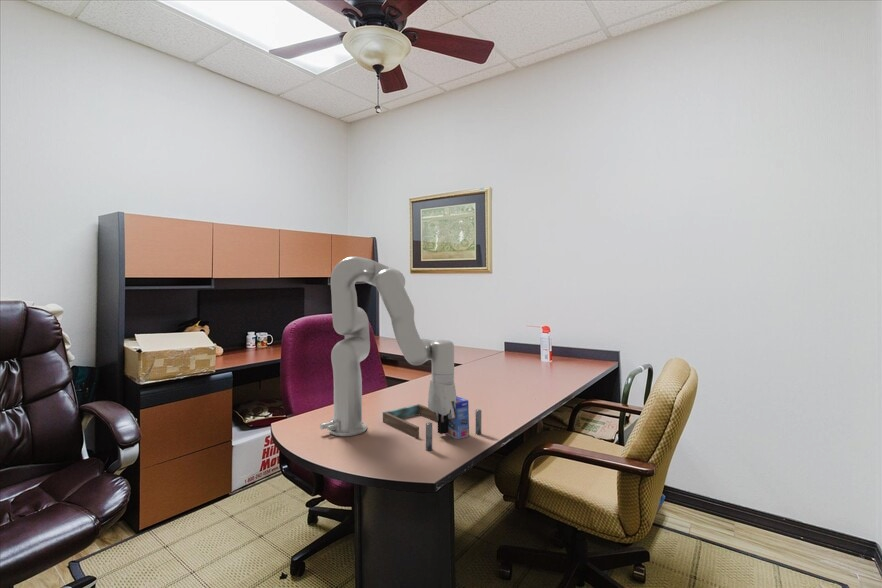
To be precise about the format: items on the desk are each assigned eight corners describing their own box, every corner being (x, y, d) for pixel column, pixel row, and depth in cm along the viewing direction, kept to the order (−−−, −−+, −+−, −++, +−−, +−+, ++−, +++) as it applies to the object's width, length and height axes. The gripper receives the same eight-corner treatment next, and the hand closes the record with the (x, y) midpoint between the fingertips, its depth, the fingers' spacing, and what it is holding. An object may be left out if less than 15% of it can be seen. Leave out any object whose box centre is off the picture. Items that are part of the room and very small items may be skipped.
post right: (478, 435, 140) (478, 411, 140) (474, 433, 141) (474, 410, 141) (482, 434, 141) (482, 410, 141) (478, 432, 143) (478, 409, 143)
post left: (428, 451, 127) (428, 425, 126) (424, 449, 128) (424, 423, 128) (433, 449, 128) (433, 423, 128) (429, 447, 130) (429, 422, 129)
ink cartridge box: (438, 431, 144) (438, 389, 143) (451, 428, 147) (451, 387, 147) (456, 440, 136) (456, 395, 136) (469, 436, 139) (469, 393, 139)
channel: (416, 438, 137) (416, 427, 137) (382, 421, 154) (382, 412, 154) (453, 427, 148) (453, 417, 148) (418, 413, 164) (418, 404, 164)
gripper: (420, 375, 142) (420, 429, 143) (448, 384, 131) (448, 442, 131) (437, 372, 147) (437, 424, 148) (466, 380, 136) (466, 436, 136)
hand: (442, 432), depth 139 cm, fingers closed
